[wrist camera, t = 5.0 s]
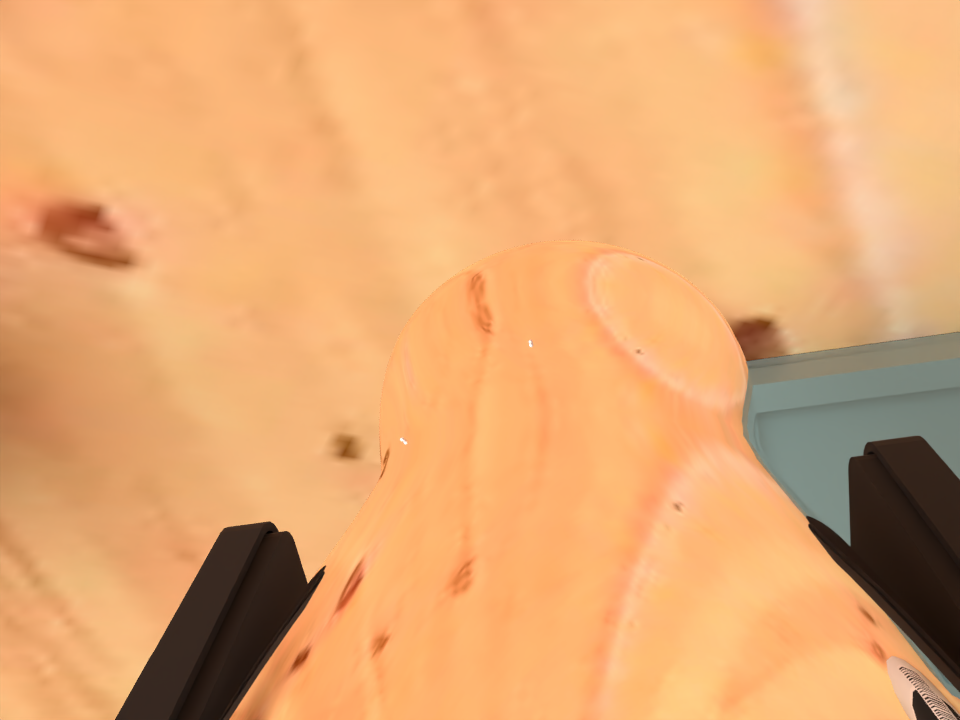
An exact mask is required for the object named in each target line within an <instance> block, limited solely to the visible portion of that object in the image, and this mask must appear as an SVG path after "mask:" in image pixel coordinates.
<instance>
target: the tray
mask: <svg viewBox="0 0 960 720" xmlns="http://www.w3.org/2000/svg"><path fill="white" fill-rule="evenodd" d="M746 362H747V365H748V368H749V372H750V376H751V380H752V385H753V390H754V396H755V403H756V411H757V420H758V430H759V440H760V445H761V448H762V450H763V452H764V454H765V455H766V457H767V458H768V460H769V462H770V463H771V464H772V466H773V467H774V468H775V469H776V470H777V471H778V472H779V473H780V474H781V476H782V477H783V478H784V479H785V480H786V481H787V482H788V483H789V484H790V486H791V487H792V488H793V489H794V490H795V491H796V492H797V493H798V494H799V495H800V496H801V497H802V498H803V499H804V500H805V501H806V502H807V503H808V504H809V505H810V506H811V507H812V508H813V509H814V510H815V511H816V512H817V513H818V514H819V515H820V516H821V517H822V518H823V519H824V520H825V521H826V522H827V523H828V524H829V525H830V526H831V527H832V528H833V529H834V530H835V531H836V533H837V534H838V535H839V536H840V537H841V538H842V539H843V540H844V541H845V542H846V543H847V544H848V545H849V546H850V547H851V544H850V512H849V480H848V464H849V459H850V458H851V457H855V456H862V455H863V452H864V448H865V445H866V444H867V442H872V441H879V440H887V439H894V438H902V437H910V436H921V437H922V438H924V439H925V440H926V441H927V442H928V444H929V445H930V446H931V447H932V448H933V449H934V450H935V452H936V453H937V454H938V455H939V456H940V457H941V459H942V460H943V461H944V462H945V463H946V464H947V465H948V467H949V468H950V469H951V470H952V471H953V472H954V474H955V475H956V476H957V477H958V478H959V479H960V332H956V333H948V334H941V335H934V336H927V337H919V338H912V339H905V340H898V341H890V342H883V343H876V344H868V345H861V346H854V347H847V348H839V349H832V350H825V351H818V352H810V353H803V354H796V355H789V356H781V357H774V358H767V359H759V360H752V361H746Z"/></svg>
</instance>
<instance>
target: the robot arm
mask: <svg viewBox="0 0 960 720" xmlns="http://www.w3.org/2000/svg"><path fill="white" fill-rule="evenodd" d="M848 480H849V512H850V544H851V548H852V549H853V550H854V551H855V552H856V553H857V554H858V555H859V556H860V557H861V558H862V559H863V560H864V561H865V562H866V563H867V564H868V565H869V566H870V567H871V568H872V569H873V570H874V571H875V572H876V573H877V575H878V576H879V577H880V578H881V579H882V580H883V581H884V582H885V583H886V584H887V585H888V586H889V587H890V588H891V589H892V590H893V591H894V592H895V593H896V594H897V595H898V596H899V597H900V599H901V600H902V601H903V602H904V603H905V604H906V605H907V606H908V607H909V608H910V609H911V610H912V611H913V612H914V613H915V614H916V615H917V616H918V617H919V618H920V619H921V620H922V621H923V623H924V624H925V625H926V626H927V627H928V628H929V629H930V630H931V631H932V632H933V633H934V634H935V635H936V636H937V637H938V638H939V639H940V640H941V641H942V642H943V643H944V644H945V645H946V647H947V648H948V649H949V650H950V651H951V652H952V653H953V654H954V655H955V656H956V657H957V658H958V660H959V661H960V479H959V478H958V477H957V476H956V475H955V474H954V472H953V471H952V470H951V469H950V468H949V467H948V465H947V464H946V463H945V462H944V461H943V460H942V459H941V457H940V456H939V455H938V454H937V453H936V452H935V450H934V449H933V448H932V447H931V446H930V445H929V444H928V442H927V441H926V440H925V439H924V438H922V437H921V436H910V437H902V438H894V439H887V440H879V441H872V442H867V444H866V445H865V448H864V452H863V455H862V456H855V457H851V458H850V459H849V464H848ZM307 585H308V584H307V580H306V577H305V574H304V571H303V567H302V564H301V561H300V558H299V555H298V551H297V548H296V545H295V542H294V539H293V537H292V535H291V534H290V533H289V532H287V531H284V532H278V529H277V528H276V526H275V525H274V524H273V523H271V522H263V523H255V524H248V525H240V526H233V527H227V528H224V529H223V531H222V532H221V533H220V535H219V537H218V538H217V540H216V542H215V544H214V545H213V547H212V549H211V551H210V553H209V554H208V556H207V558H206V560H205V561H204V563H203V565H202V567H201V569H200V570H199V572H198V574H197V576H196V578H195V579H194V581H193V583H192V585H191V586H190V588H189V590H188V592H187V594H186V595H185V597H184V599H183V601H182V602H181V604H180V606H179V608H178V610H177V611H176V613H175V615H174V617H173V619H172V620H171V622H170V624H169V626H168V627H167V629H166V631H165V633H164V635H163V636H162V638H161V640H160V642H159V643H158V645H157V647H156V649H155V651H154V652H153V654H152V655H151V657H150V658H149V660H148V662H147V664H146V666H145V667H144V669H143V671H142V673H141V674H140V676H139V678H138V680H137V682H136V683H135V685H134V687H133V689H132V690H131V692H130V694H129V696H128V698H127V699H126V701H125V703H124V705H123V706H122V708H121V710H120V712H119V714H118V715H117V717H116V719H115V720H218V718H219V717H220V715H221V713H222V712H223V710H224V709H225V707H226V705H227V704H228V702H229V700H230V699H231V697H232V695H233V694H234V692H235V690H236V689H237V687H238V685H239V684H240V682H241V681H242V679H243V678H244V676H245V675H246V673H247V672H248V671H249V669H250V668H251V666H252V665H253V663H254V662H255V660H256V659H257V657H258V656H259V655H260V653H261V652H262V650H263V649H264V647H265V646H266V644H267V643H268V641H269V640H270V639H271V637H272V636H273V634H274V633H275V631H276V630H277V628H278V627H279V625H280V624H281V623H282V621H283V620H284V618H285V617H286V615H287V614H288V612H289V611H290V609H291V608H292V607H293V605H294V604H295V602H296V601H297V599H298V598H299V596H300V595H301V593H302V592H303V591H304V589H305V588H306V586H307Z"/></svg>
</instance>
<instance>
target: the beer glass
mask: <svg viewBox="0 0 960 720" xmlns="http://www.w3.org/2000/svg"><path fill="white" fill-rule="evenodd" d="M379 438H380V458H381V475H380V478H379V480H378V482H377V484H376V486H375V488H374V489H373V491H372V492H371V494H370V496H369V497H368V499H367V500H366V502H365V503H364V505H363V506H362V508H361V509H360V511H359V513H358V514H357V516H356V517H355V519H354V520H353V522H352V523H351V524H350V526H349V527H348V529H347V530H346V531H345V533H344V534H343V536H342V537H341V539H340V540H339V541H338V543H337V544H336V546H335V547H334V548H333V550H332V551H331V553H330V554H329V555H328V557H327V558H326V560H325V561H324V562H323V564H322V565H321V567H320V568H319V569H318V571H317V572H316V574H315V575H314V576H313V578H312V579H311V581H310V582H309V583H308V585H307V586H306V588H305V589H304V591H303V592H302V593H301V595H300V596H299V598H298V599H297V601H296V602H295V604H294V605H293V607H292V608H291V609H290V611H289V612H288V614H287V615H286V617H285V618H284V620H283V621H282V623H281V624H280V625H279V627H278V628H277V630H276V631H275V633H274V634H273V636H272V637H271V639H270V640H269V641H268V643H267V644H266V646H265V647H264V649H263V650H262V652H261V653H260V655H259V656H258V657H257V659H256V660H255V662H254V663H253V665H252V666H251V668H250V669H249V671H248V672H247V673H246V675H245V676H244V678H243V679H242V681H241V682H240V684H239V685H238V687H237V689H236V690H235V692H234V694H233V695H232V697H231V699H230V700H229V702H228V704H227V705H226V707H225V709H224V710H223V712H222V713H221V715H220V717H219V718H218V720H960V661H959V660H958V658H957V657H956V656H955V655H954V654H953V653H952V652H951V651H950V650H949V649H948V648H947V647H946V645H945V644H944V643H943V642H942V641H941V640H940V639H939V638H938V637H937V636H936V635H935V634H934V633H933V632H932V631H931V630H930V629H929V628H928V627H927V626H926V625H925V624H924V623H923V621H922V620H921V619H920V618H919V617H918V616H917V615H916V614H915V613H914V612H913V611H912V610H911V609H910V608H909V607H908V606H907V605H906V604H905V603H904V602H903V601H902V600H901V599H900V597H899V596H898V595H897V594H896V593H895V592H894V591H893V590H892V589H891V588H890V587H889V586H888V585H887V584H886V583H885V582H884V581H883V580H882V579H881V578H880V577H879V576H878V575H877V573H876V572H875V571H874V570H873V569H872V568H871V567H870V566H869V565H868V564H867V563H866V562H865V561H864V560H863V559H862V558H861V557H860V556H859V555H858V554H857V553H856V552H855V551H854V550H853V549H852V548H851V547H850V546H849V545H848V544H847V543H846V542H845V541H844V540H843V539H842V538H841V537H840V536H839V535H838V534H837V533H836V531H835V530H834V529H833V528H832V527H831V526H830V525H829V524H828V523H827V522H826V521H825V520H824V519H823V518H822V517H821V516H820V515H819V514H818V513H817V512H816V511H815V510H814V509H813V508H812V507H811V506H810V505H809V504H808V503H807V502H806V501H805V500H804V499H803V498H802V497H801V496H800V495H799V494H798V493H797V492H796V491H795V490H794V489H793V488H792V487H791V486H790V484H789V483H788V482H787V481H786V480H785V479H784V478H783V477H782V476H781V474H780V473H779V472H778V471H777V470H776V469H775V468H774V467H773V466H772V464H771V463H770V462H769V460H768V458H767V457H766V455H765V454H764V452H763V450H762V448H761V445H760V440H759V430H758V420H757V411H756V403H755V396H754V390H753V385H752V380H751V376H750V372H749V368H748V365H747V362H746V359H745V357H744V354H743V352H742V349H741V347H740V345H739V343H738V341H737V339H736V336H735V335H734V333H733V331H732V329H731V327H730V326H729V324H728V323H727V321H726V320H725V318H724V317H723V315H722V314H721V313H720V311H719V310H718V309H717V307H716V306H715V305H714V304H713V303H712V302H711V301H710V299H709V298H708V297H707V296H706V295H705V294H704V293H703V292H702V291H700V290H699V289H698V288H697V287H696V286H695V285H694V284H692V283H691V282H690V281H689V280H687V279H686V278H685V277H683V276H682V275H680V274H679V273H677V272H676V271H674V270H673V269H671V268H669V267H668V266H666V265H664V264H662V263H660V262H658V261H656V260H654V259H652V258H650V257H648V256H645V255H643V254H640V253H638V252H635V251H632V250H629V249H625V248H622V247H618V246H614V245H610V244H605V243H599V242H592V241H582V240H554V241H544V242H537V243H531V244H526V245H521V246H517V247H514V248H510V249H507V250H504V251H501V252H498V253H495V254H493V255H490V256H488V257H486V258H484V259H482V260H479V261H478V262H476V263H474V264H472V265H470V266H468V267H467V268H465V269H463V270H462V271H460V272H459V273H457V274H456V275H454V276H453V277H451V278H450V279H449V280H447V281H446V282H445V283H444V284H442V285H441V286H440V287H439V288H438V289H436V290H435V291H434V292H433V293H432V294H431V295H430V296H429V297H428V298H427V299H426V300H425V301H424V302H423V303H422V304H421V305H420V306H419V308H418V309H417V310H416V311H415V312H414V314H413V315H412V316H411V318H410V319H409V321H408V322H407V324H406V325H405V327H404V328H403V330H402V332H401V333H400V335H399V337H398V339H397V341H396V344H395V346H394V348H393V351H392V353H391V356H390V359H389V362H388V365H387V369H386V373H385V377H384V382H383V388H382V395H381V403H380V418H379Z"/></svg>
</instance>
